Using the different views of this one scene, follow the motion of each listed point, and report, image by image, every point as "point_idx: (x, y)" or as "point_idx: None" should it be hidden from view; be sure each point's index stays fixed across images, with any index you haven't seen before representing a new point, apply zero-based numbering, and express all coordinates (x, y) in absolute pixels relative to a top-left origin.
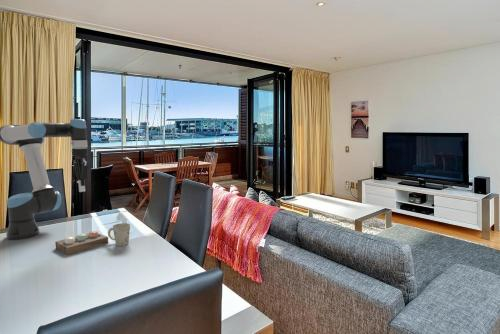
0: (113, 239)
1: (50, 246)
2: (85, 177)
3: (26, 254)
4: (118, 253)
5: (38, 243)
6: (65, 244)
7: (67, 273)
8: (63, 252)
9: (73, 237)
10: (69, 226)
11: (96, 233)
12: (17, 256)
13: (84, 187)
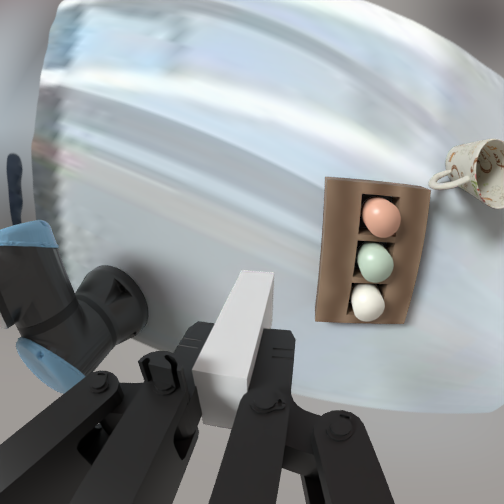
0: (441, 177)
1: (281, 309)
2: (355, 448)
3: None
4: (500, 225)
5: None
6: None
7: (474, 346)
8: None
9: (374, 297)
10: (107, 177)
11: (400, 217)
12: None
13: (268, 305)
